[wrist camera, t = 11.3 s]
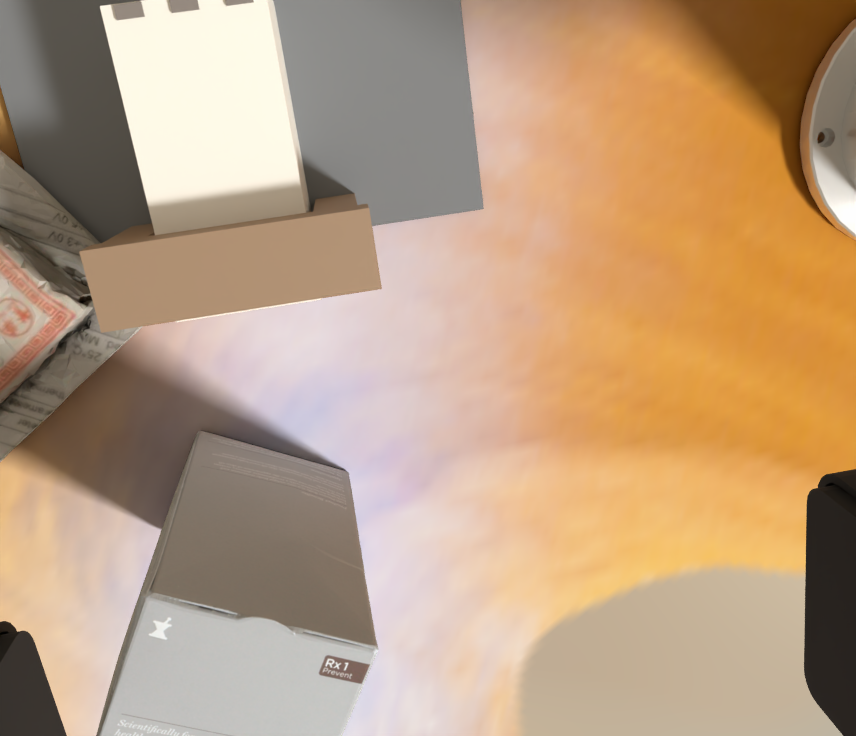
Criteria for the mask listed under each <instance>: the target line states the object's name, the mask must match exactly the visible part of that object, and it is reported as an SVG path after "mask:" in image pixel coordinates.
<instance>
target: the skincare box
mask: <svg viewBox="0 0 856 736" xmlns="http://www.w3.org/2000/svg"><path fill="white" fill-rule="evenodd" d="M377 652H378V646H377V642H376V637H375V631H374V625H373V620H372V614H371V608H370V602H369V597H368V591H367V585H366V580H365V573H364V566H363V560H362V553H361V547H360V542H359V535H358V528H357V522H356V515H355V509H354V502H353V496H352V490H351V484H350V479H349V473H348V472H346V471H343V470H340V469H336V468H333V467H329V466H325V465H322V464H318V463H315V462H311V461H308V460H304V459H301V458H297V457H293V456H290V455H286V454H283V453H279V452H276V451H272V450H269V449H265V448H262V447H258V446H255V445H251V444H248V443H244V442H240V441H237V440H233V439H230V438H226V437H223V436H219V435H215V434H212V433H208V432H204V431H199V432H198V433H197V434H196V436H195V439H194V442H193V445H192V447H191V450H190V453H189V456H188V458H187V461H186V464H185V466H184V469H183V472H182V474H181V477H180V480H179V483H178V486H177V489H176V491H175V494H174V497H173V500H172V503H171V506H170V508H169V511H168V514H167V517H166V519H165V522H164V525H163V528H162V531H161V534H160V537H159V540H158V543H157V546H156V549H155V552H154V554H153V557H152V560H151V563H150V566H149V569H148V572H147V575H146V578H145V580H144V583H143V586H142V589H141V592H140V595H139V598H138V601H137V603H136V606H135V609H134V612H133V615H132V618H131V621H130V624H129V627H128V630H127V633H126V636H125V639H124V642H123V645H122V648H121V651H120V654H119V657H118V660H117V664H116V667H115V671H114V674H113V678H112V681H111V685H110V688H109V691H108V695H107V699H106V702H105V706H104V710H103V713H102V717H101V721H100V724H99V728H98V732H97V735H96V736H342V734H343V732H344V730H345V727H346V725H347V723H348V720H349V718H350V716H351V713H352V711H353V709H354V706H355V704H356V702H357V699H358V697H359V695H360V692H361V690H362V687H363V685H364V683H365V680H366V678H367V675H368V673H369V671H370V668H371V666H372V663H373V661H374V659H375V657H376V654H377Z"/></svg>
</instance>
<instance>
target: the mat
mask: <svg viewBox="0 0 856 736" xmlns="http://www.w3.org/2000/svg"><path fill="white" fill-rule="evenodd" d="M134 1H142V0H0V87H1V90H2V94H3V97H4V101H5V104H6V108H7V111H8V115H9V118H10V122H11V125H12V129H13V132H14V135H15V139H16V142H17V146H18V149H19V153H20V156H21V160H22V163H23V167H24V170H25V171H26V172H27V173H28V174H30V175H31V176H32V177H33V178H34V179H35V180H36V181H37V182H38V183H39V184H40V185H41V186H42V187H43V188H44V189H45V190H47V191H48V192H49V193H50V194H51V195H52V196H53V197H54V198H55V199H56V200H57V201H58V202H59V203H60V204H61V205H62V206H63V207H64V208H65V209H66V210H67V211H68V212H69V213H70V214H71V215H72V216H73V217H74V218H75V219H76V220H77V221H78V222H79V223H80V224H81V225H83V226H84V227H85V228H86V229H87V230H88V231H89V232H90V233H91V234H92V235H93V236H94V237H95V238H96V239H97V240H98V241H99V242H100V243H103V242H105V241H107V240H108V239H110V238H112V237H114V236H115V235H117V234H119V233H121V232H123V231H124V230H126V229H128V228H130V227H131V226H138V225H145V224H151V223H152V220H151V216H150V212H149V208H148V204H147V200H146V196H145V191H144V187H143V183H142V179H141V175H140V171H139V167H138V163H137V158H136V154H135V150H134V146H133V142H132V138H131V134H130V129H129V125H128V121H127V117H126V113H125V109H124V105H123V100H122V96H121V92H120V88H119V84H118V80H117V76H116V72H115V67H114V63H113V59H112V55H111V51H110V47H109V43H108V38H107V34H106V30H105V26H104V22H103V18H102V14H101V10H100V6H104V5H111V4H119V3H127V2H134ZM273 2H274V6H275V11H276V17H277V23H278V28H279V34H280V39H281V45H282V51H283V56H284V62H285V67H286V73H287V78H288V84H289V90H290V95H291V101H292V106H293V112H294V118H295V123H296V129H297V134H298V140H299V146H300V151H301V157H302V162H303V168H304V174H305V179H306V185H307V190H308V196H309V202H310V207H311V212H313V210H314V205H315V200H316V199H319V198H326V197H333V196H340V195H346V194H353V193H355V197H356V201H357V205H361V204H368V206H369V210H370V217H371V223H372V226H375V225H381V224H388V223H395V222H401V221H408V220H414V219H421V218H428V217H434V216H441V215H447V214H454V213H461V212H467V211H474V210H480V209H484V208H483V199H482V190H481V181H480V172H479V164H478V155H477V146H476V137H475V128H474V119H473V110H472V101H471V92H470V83H469V74H468V65H467V56H466V47H465V38H464V29H463V20H462V11H461V2H460V0H273Z"/></svg>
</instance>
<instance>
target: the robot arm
mask: <svg viewBox="0 0 856 736" xmlns="http://www.w3.org/2000/svg"><path fill="white" fill-rule="evenodd" d="M818 134H819V136H820V137H819V140H817V138H818ZM800 152H801V160H802V168H803V173H804V176H805V179H806V182H807V185H808V188H809V191H810V193H811V195H812V197H813V199H814V200H815V202H816V204H817V206H818V207H819V209H820V211H821V212H822V213H823V214H824V215H825V217H826V218H827V219H828V220H829V221H830V222H831V223H832V224H833V225H834V226H835V227H836V228H837V229H838V230H840V231H841V232H843V233H844V234H846V235H847V236H849V237H850V238H852V239H853V240H856V18H855V19H854V20H853V21H852V22H851V23H850V24H849V25H848V26H847V27H846V28H845V30H844V31H843V32H842V33H841V34H840V35H839V37H838V38H837V39H836V40H835V41H834V43H833V44H832V45H831V47H830V49H829V50H828V52H827V53H826V55H825V57H824V58H823V60H822V62H821V63H820V65H819V67H818V68H817V71H816V73H815V76H814V78H813V81H812V83H811V86H810V88H809V91H808V93H807V97H806V101H805V106H804V110H803V114H802V119H801V132H800ZM804 650H805V651H804V672H805V678H806V682H807V685H808V688H809V690H810V693H811V695H812V697H813V698H814V700H815V701H816V703H817V704H818V705H819V706H820V708H821V709H822V710H823V711H824V713H825V714H826V715H827V716H828V717H829V719H830V720H831V721H832V722H833V723H834V725H835V726H836V727H837V728H838V730H839V731H840V732H841V733H842V735H843V736H856V469H854V470H849V471H843V472H837V473H832V474H826V475H825V476H823V477H822V478H821V480H820V482H819V484H818V488H816V489H813V490H811V491H810V492H809V495H808V498H807V527H806V587H805V648H804ZM0 736H67V735H66V733H65V730H64V727H63V724H62V721H61V718H60V715H59V712H58V709H57V706H56V703H55V701H54V698H53V695H52V692H51V689H50V686H49V683H48V680H47V677H46V674H45V672H44V669H43V666H42V663H41V660H40V657H39V654H38V651H37V648H36V645H35V643H34V640H33V638H32V636H31V635H30V634H29V633H28V632H26V631H20V632H17V631H16V628H15V627H14V626H13V625H12V624H11V623H9V622H6V621H3V622H0Z"/></svg>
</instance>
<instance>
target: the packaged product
mask: <svg viewBox="0 0 856 736" xmlns="http://www.w3.org/2000/svg"><path fill="white" fill-rule="evenodd" d="M94 244H100V242H99V241H98V240H97V239H96V238H95V237H94V236H93V235H92V234H91V233H90V232H89V231H88V230H87V229H86V228H85V227H84V226H83V225H81V224H80V223H79V222H78V221H77V220H76V219H75V218H74V217H73V216H72V215H71V214H70V213H69V212H68V211H67V210H66V209H65V208H64V207H63V206H62V205H61V204H60V203H59V202H58V201H57V200H56V199H55V198H54V197H53V196H52V195H51V194H50V193H49V192H48V191H47V190H45V189H44V188H43V187H42V186H41V185H40V184H39V183H38V182H37V181H36V180H35V179H34V178H33V177H32V176H31V175H30V174H28V173H27V172H26V171H25V170H24V169H22V168H21V167H20V166H19V165H18V164H16V163H15V162H14V161H13V160H12V159H11V158H9V157H8V156H7V155H6V154H5V153H3V152H2V151H1V150H0V462H1V461H2V460H3V459H4V458H5V457H6V456H7V455H8V454H9V453H10V452H11V451H12V450H13V449H14V448H15V447H16V446H17V445H18V444H19V443H21V442H22V441H23V440H24V439H25V438H26V437H27V436H28V435H29V434H30V433H31V432H32V431H34V430H35V429H36V428H37V427H38V426H39V425H40V424H41V423H42V422H43V421H44V420H46V419H47V418H48V417H49V416H50V415H51V414H52V413H53V412H54V411H55V410H56V409H57V408H58V407H59V406H60V405H61V404H62V403H63V402H64V401H65V400H66V399H67V398H68V396H69V395H70V394H71V393H72V392H73V391H74V390H75V389H76V388H77V387H79V386H80V385H81V384H82V383H83V382H84V381H85V380H86V379H87V378H88V377H89V376H90V375H91V374H92V373H94V372H95V371H96V370H97V369H98V368H99V367H100V366H101V365H102V364H103V363H104V362H105V361H106V360H108V359H109V358H110V357H111V356H112V355H113V354H114V353H115V352H116V351H117V350H118V349H119V348H120V347H122V346H123V345H124V344H125V343H126V342H127V341H128V340H129V339H130V338H131V337H132V336H133V335H134V334H136V333H137V332H138V331H139V330H140V329H141V328H142V327H143V326H141V327H135V328H129V329H122V330H116V331H110V332H103V333H101V330H100V326H99V322H98V319H97V315H96V311H95V308H94V304H93V300H92V297H91V293H90V289H89V286H88V282H87V279H86V275H85V271H84V268H83V264H82V260H81V257H80V253H79V251H81V250H83V249H85V248H86V247H88V246H90V245H94Z"/></svg>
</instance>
